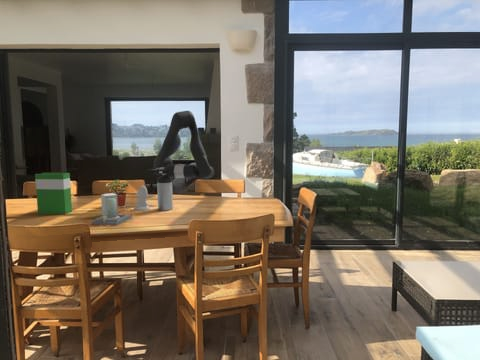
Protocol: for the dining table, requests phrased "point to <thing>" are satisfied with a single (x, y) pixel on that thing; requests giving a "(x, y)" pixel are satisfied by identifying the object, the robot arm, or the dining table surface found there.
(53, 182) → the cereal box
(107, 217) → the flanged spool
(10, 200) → the dining table surface
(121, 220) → the locating board
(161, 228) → the dining table surface
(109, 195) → the supplement box
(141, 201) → the chess piece
